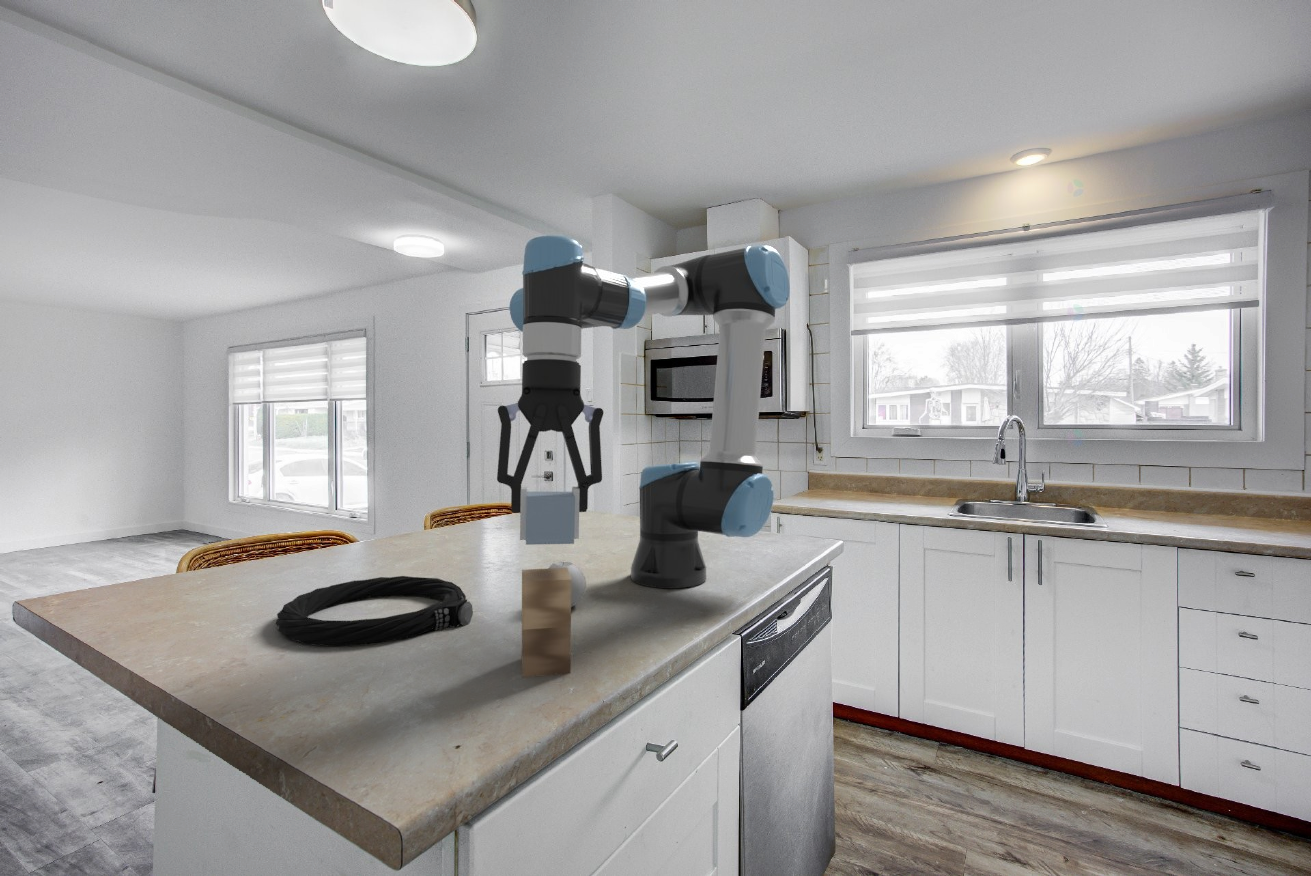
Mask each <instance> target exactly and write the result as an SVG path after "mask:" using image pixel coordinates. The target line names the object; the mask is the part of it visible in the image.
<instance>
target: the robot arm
mask: <svg viewBox="0 0 1311 876" xmlns="http://www.w3.org/2000/svg"><path fill="white" fill-rule="evenodd" d="M583 253H584V252H583V246H582V245H581V243H579V242H578V241H577V240H576V239H573V238H570V237H567V236H561V235H539V236H537V237H534V238H531V239H530V240H528V242H526V245H525V248H524V255H523V257H524V258H523V267H522V268H523V269H522V272H521V274H522V287H521V288H519V289H517V290H516V291H515V292H514V293H513V295H512V296H511V298H510V302H509V315H510V319H511V321H512V323H513V325H514V326H515V327H516V328H517V329H518V330H519V331H521V332H522V351H521V352H522V355H523V356H524V357H525V358H526V360H524V361H523V362H522V367H521V369H522V371H521V372H522V373H521V375H522V376H521V395H520V397H519V398H518V401H517V402H516V403H511V404H508V405H500V406H498V407H497V413H498V416H499V420H500V424H501V425H500V437H499V449H498V462H497V476H496V481H497V482H498V483H499V484H503V485H506V486H508V487H509V488H510V490H511V493H510V494H511V496H510V498H511V502H510V505H511V506H510V507H511V508H510V509H511V512H512V514H519V515H520V516H519V517H520V518H519V520H520V521H519V529H520V530H519V540H520V541H526V506H527V492H528V489H527V488H528V487H527V486H522V483H523V480H524V478H525V474H526V471H527V468H528V466H529V462H530V460H531V457H532V454H533V451H534V447H535V445H536V442H537V439H538V436H539V433H541V432H548V431H554V432H557V433H561V434H562V436H563V440H564V442H565V443H564V444H565V446H566V448H567V453H568V455H569V458H570V459H569V460H570V462H571V465H572V468H573V472H574V475H575V480H576V482H577V486H571V492H572V494H573V495H574V496H575V525H574V540H576V539H578V540H579V539H580V513H587V510H588V508H589V507H588V506H589V505H588V503H589V502H588V501H589V500H588V499H589V488H590V487H591V486H593V485H595V484H600V483H601V482H602V480H603V469H602V452H601V451H602V447H601V446H602V445H601V431H600V430H601V428H600V427H601V423H602V419H603V416H604V410H603V408H601V407H593V406H590V405H587V404H585V402H584V400H583V399H582V394H581V386H582V385H581V382H582V381H581V380H582V375H581V374H582V373H581V372H582V371H581V370H582V366H581V365H580V363H579V362H578V361H577V360H579V359H580V358H581V357H582V330H583V329H591V328H597V327H609V328H611V329H612V330H613V329H614V330H617V329H623V330H629V329H633V328H634V327H635V326H637V325H638V324H639V323H640V322H641V320H642V319H643V317H645V316H651V315H652V316H653V315H656V314H660V315H662V316H663V317H674V316H712V319H713V321H715V322H716V324H717V325H718V326H719V333H718V336H719V337H718V347H717V359H716V370H715V371H716V372H715V383H714V392H713V404H712V417H711V428H710V441H709V451H708V453H707V454H705V455H704V456H703V457H702V458H700V462H699V463H698V462H697V461H693V462H683V463H682V462H680V463H672V464H662V465H660V464H659V465H651V466H646V467H644V468H643V469H642V471H641V472H640V473H641V474H640V483H639V488H638V489H639V542H638V544H637V548H636V550H635V554H634V557H633V561H632V563H631V566H630V580H632V581H633V582H634V583H636V584H639V585H642V586H646V587H651V588H659V589H680V588H681V589H682V588H687V587H688V588H689V587H694V586H699V585H701V584H704V583H705V582H706V580H707V566H706V562H705V560H704V556H703V553H702V550H701V546H700V543H699V532H702V533H708V534H714V535H721V536H726V537H728V538H732V537H733V538H735V537H737V538H750V537H753V536H755V535H757V534H758V533H759V532H760V531H761V530H762V529H763V527H764V526H765V525H766V523H767V521H768V520H769V518H770V515H771V511H772V509H773V508H772V507H773V504H774V489H773V488H772V487H773V482H772V480H771V479H770V478H769V477H768V476H767V475H765V474H763V467H764V465H763V464H762V462H761V461H760V460H759V459H758V458H757V455H756V453H757V452H756V451H757V440H758V429H759V428H758V427H759V417H760V416H759V415H760V405H761V404H760V403H761V402H760V401H761V392H762V391H761V389H762V379H763V377H762V376H763V369H764V366H763V365H764V355H765V354H764V353H765V342H766V330H767V328H770V326H771V325H773V324H774V322H775V318H776V310H777V309H781V308H783V307H784V306H785V305H786V304H787V302H788V300H789V298H790V293H791V292H790V289H791V288H790V278H789V274H788V270H787V267H786V264H785V262H784V260H783V257H782V256H781V255H780V253H779V252H778V251H777V250H776V249H775V248H774V247H772V246H770V245H766V244H762V245H755V246H752V245H748V246H746V247H743V248H738V249H734V250H728V251H724V252H717V253H713V254H708V255H707V254H705V255H702V256H699V257H695V258H691V259H688V260H686V261H683V262H679V263H676V264H671V265H664V266H661V267H659V268H657V269H655V270H654V272H647V273H637V274H627V275H625V274H623V273H616V272H612V271H609V270H605V269H602V268H599V267H595V266H592V265H590V264H587V263H584V260H585V257H584V254H583ZM519 411H520V412H521V413H522V415H523V417H524V418H525V419H526V421H527V422H528V423H529V425H530V426H529V429H528V433H527V436H526V438H525V441H524V445H523V448H522V450H521V453H520V456H519V460H518V463H517V465H516V468H515V471H514V474H513V475H511V474H508V473H509V472H508V471H509V461H510V460H509V459H510V447H511V436H512V435H511V434H512V422H513V421H515V420H516V418H517V413H518V412H519ZM582 413H583V415H584V420H585V421H586V423H588V443H589V444H588V445H589V447H588V449H589V467H590V474H588V475H587V473H586V470H585V466H584V464H583V460H582V457H581V454H580V451H579V447H578V444H577V440H576V436H575V433H574V429H573V426H572V425H573V424H574V423H575V421H576V420H577V419H578V417H579V416H580V415H581V414H582Z"/></svg>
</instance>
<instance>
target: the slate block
mask: <svg viewBox="0 0 1311 876" xmlns="http://www.w3.org/2000/svg"><path fill="white" fill-rule="evenodd" d="M574 525H575V496H574V495H573V494H572V491H527V506H526V540H525V545H534V546H535V545H574V544H575V539H574Z"/></svg>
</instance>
